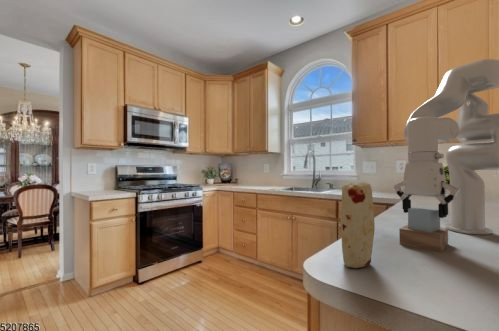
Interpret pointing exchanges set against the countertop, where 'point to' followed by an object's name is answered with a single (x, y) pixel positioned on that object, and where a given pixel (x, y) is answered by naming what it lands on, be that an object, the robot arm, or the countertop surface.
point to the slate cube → (424, 219)
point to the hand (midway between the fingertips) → (424, 214)
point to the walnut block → (424, 238)
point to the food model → (357, 224)
